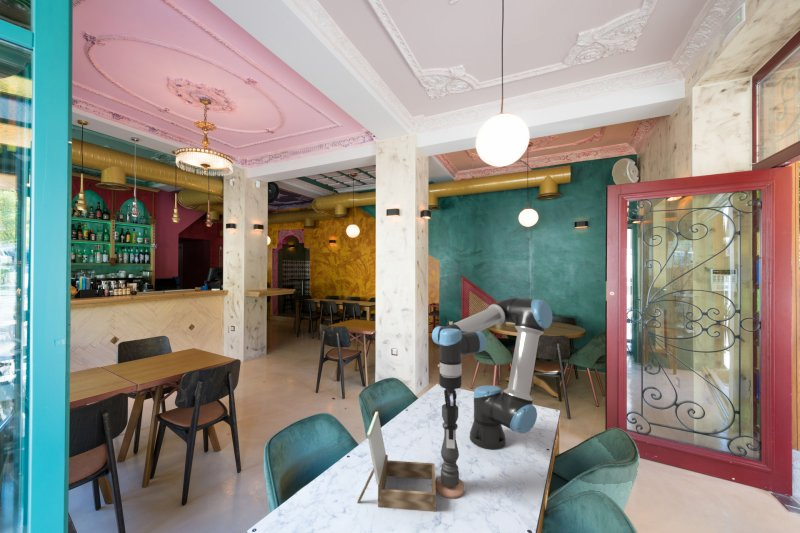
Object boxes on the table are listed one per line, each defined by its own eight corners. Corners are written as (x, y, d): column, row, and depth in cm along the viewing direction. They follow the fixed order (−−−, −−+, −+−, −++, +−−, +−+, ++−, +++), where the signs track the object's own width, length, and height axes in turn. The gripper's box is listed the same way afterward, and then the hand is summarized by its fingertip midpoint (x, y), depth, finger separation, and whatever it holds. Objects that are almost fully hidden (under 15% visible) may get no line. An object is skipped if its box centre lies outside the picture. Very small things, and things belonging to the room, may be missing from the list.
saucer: (462, 479, 109) (462, 476, 110) (466, 499, 100) (466, 496, 100) (434, 477, 110) (434, 474, 110) (435, 497, 100) (435, 493, 100)
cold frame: (434, 477, 110) (434, 443, 111) (435, 512, 94) (436, 471, 95) (366, 473, 112) (366, 439, 113) (356, 505, 97) (357, 466, 97)
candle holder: (438, 475, 108) (439, 403, 109) (456, 474, 108) (456, 403, 109) (442, 487, 102) (443, 411, 102) (461, 486, 102) (461, 410, 103)
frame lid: (386, 454, 112) (386, 411, 113) (379, 485, 96) (379, 434, 96) (374, 453, 113) (375, 411, 113) (366, 484, 96) (366, 434, 97)
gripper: (438, 366, 116) (438, 429, 115) (440, 383, 97) (440, 457, 97) (458, 367, 115) (458, 430, 114) (464, 384, 97) (464, 459, 96)
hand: (449, 442), depth 105 cm, fingers open, 5 cm apart
